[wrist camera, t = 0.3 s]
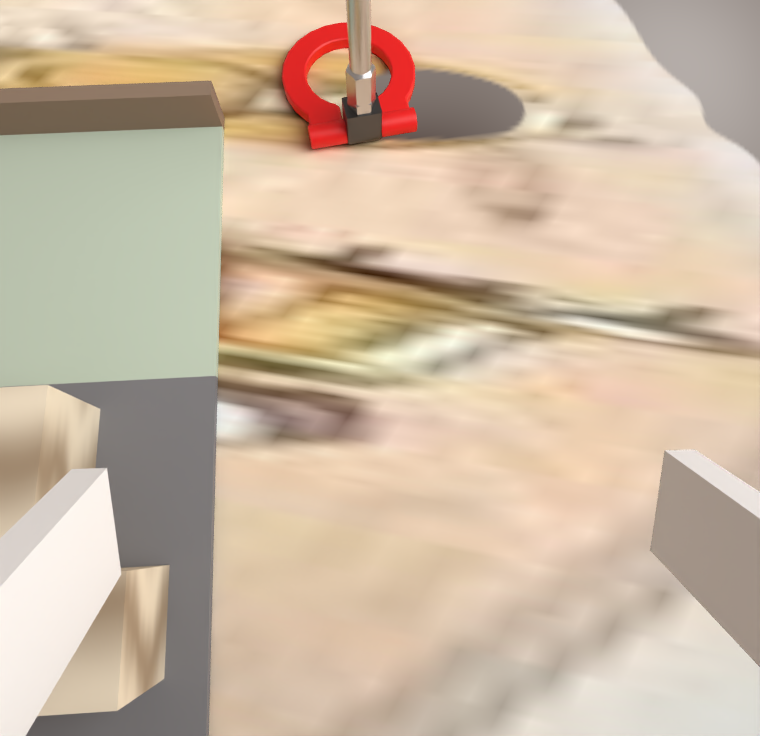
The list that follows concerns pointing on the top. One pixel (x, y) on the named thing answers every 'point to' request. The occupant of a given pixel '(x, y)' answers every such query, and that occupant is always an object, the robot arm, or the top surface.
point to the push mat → (126, 334)
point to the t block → (136, 584)
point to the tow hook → (353, 82)
